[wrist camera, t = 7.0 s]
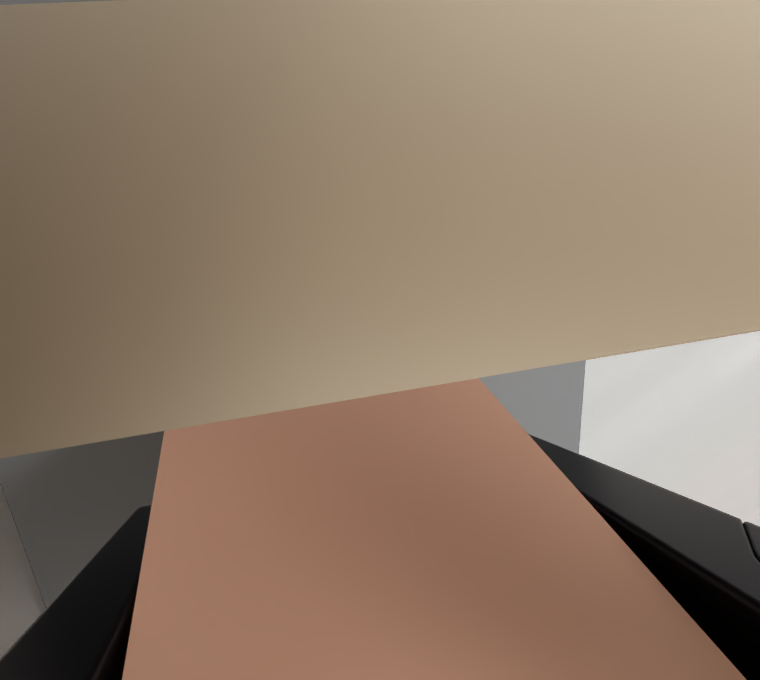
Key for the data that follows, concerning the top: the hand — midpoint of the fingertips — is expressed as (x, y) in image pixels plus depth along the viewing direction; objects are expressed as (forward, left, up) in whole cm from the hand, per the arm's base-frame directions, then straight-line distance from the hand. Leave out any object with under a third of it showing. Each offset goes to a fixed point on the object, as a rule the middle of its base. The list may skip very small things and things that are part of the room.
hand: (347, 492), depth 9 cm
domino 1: (0, -5, -4) cm, 6 cm away
